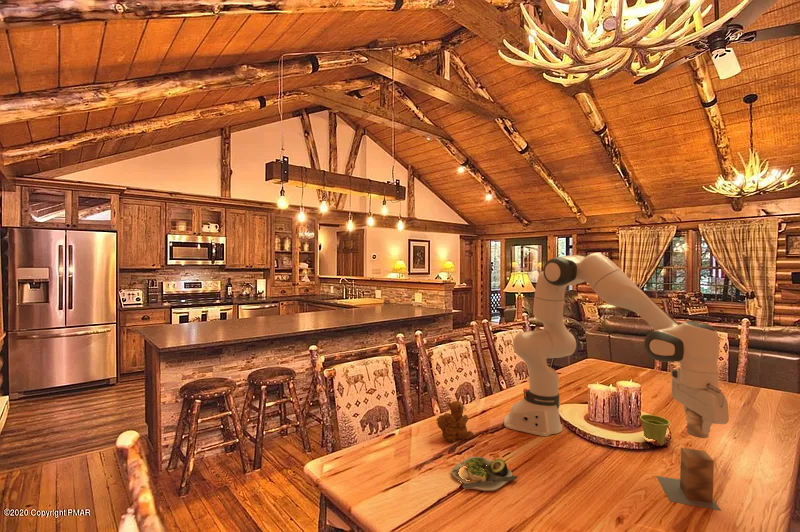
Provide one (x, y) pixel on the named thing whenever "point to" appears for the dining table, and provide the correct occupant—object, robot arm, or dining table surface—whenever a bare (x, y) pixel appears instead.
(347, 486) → the dining table surface
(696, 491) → the tower base
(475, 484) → the salad plate
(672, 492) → the felt mat
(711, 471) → the tower top
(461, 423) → the stuffed squirrel
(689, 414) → the birch round
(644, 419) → the plant pot
